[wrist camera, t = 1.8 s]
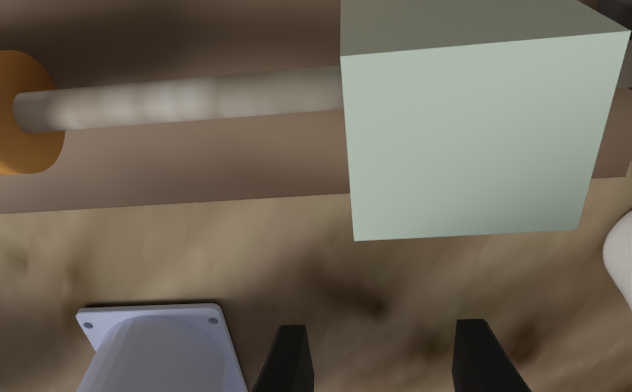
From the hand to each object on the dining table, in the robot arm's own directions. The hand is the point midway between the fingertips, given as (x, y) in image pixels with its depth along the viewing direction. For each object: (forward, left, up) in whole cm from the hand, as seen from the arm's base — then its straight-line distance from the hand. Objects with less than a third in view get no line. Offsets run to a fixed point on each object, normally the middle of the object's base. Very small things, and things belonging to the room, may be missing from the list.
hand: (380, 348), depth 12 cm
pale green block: (+5, -2, -7) cm, 9 cm away
